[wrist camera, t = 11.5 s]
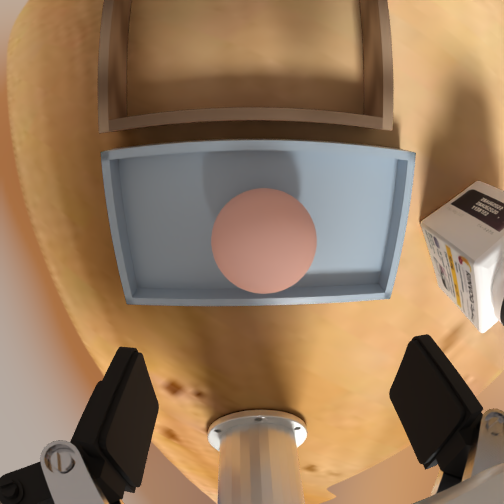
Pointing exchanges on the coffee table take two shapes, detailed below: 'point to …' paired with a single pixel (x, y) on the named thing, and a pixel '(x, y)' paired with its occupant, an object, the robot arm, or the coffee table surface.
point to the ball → (264, 240)
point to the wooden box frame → (374, 117)
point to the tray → (243, 179)
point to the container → (470, 252)
